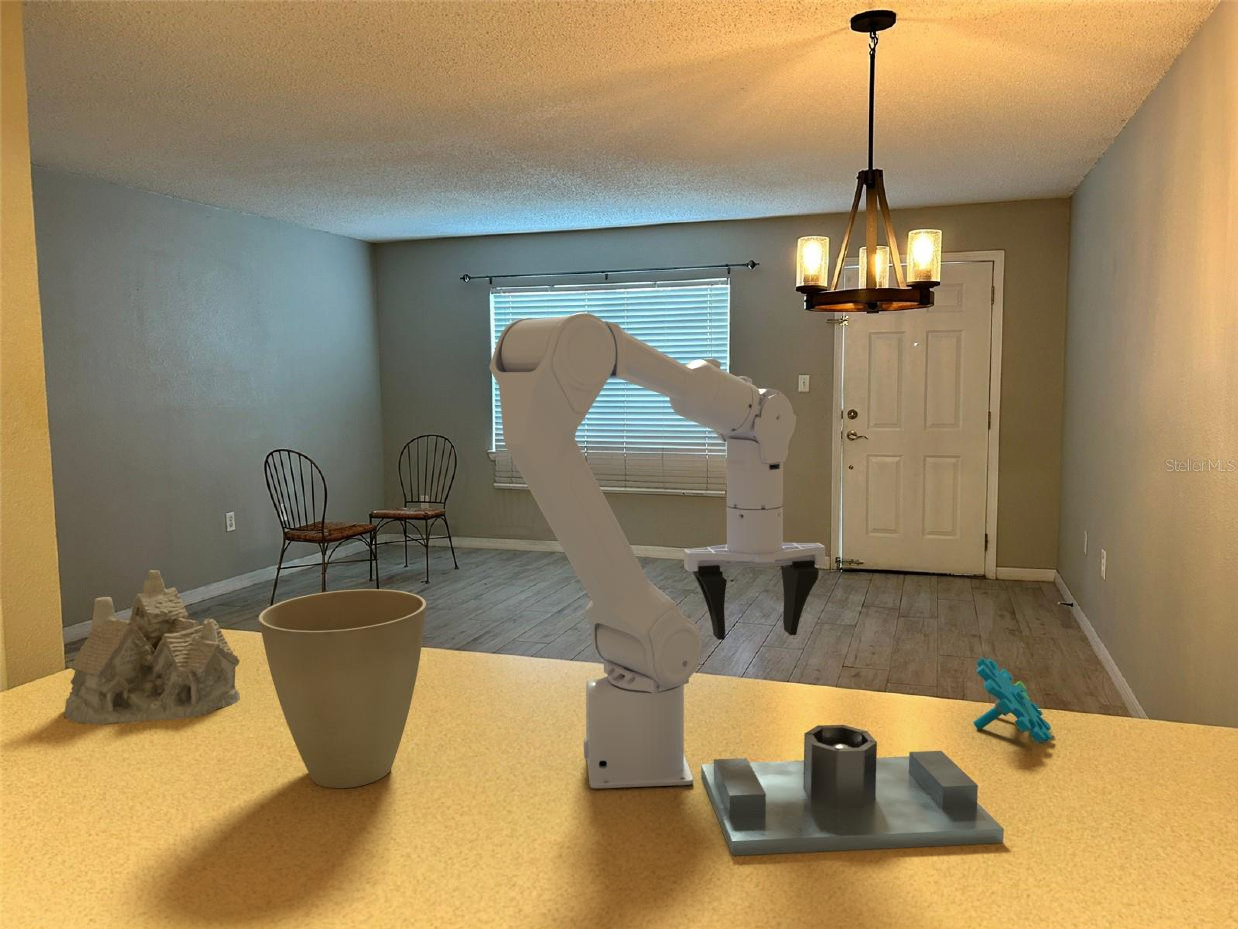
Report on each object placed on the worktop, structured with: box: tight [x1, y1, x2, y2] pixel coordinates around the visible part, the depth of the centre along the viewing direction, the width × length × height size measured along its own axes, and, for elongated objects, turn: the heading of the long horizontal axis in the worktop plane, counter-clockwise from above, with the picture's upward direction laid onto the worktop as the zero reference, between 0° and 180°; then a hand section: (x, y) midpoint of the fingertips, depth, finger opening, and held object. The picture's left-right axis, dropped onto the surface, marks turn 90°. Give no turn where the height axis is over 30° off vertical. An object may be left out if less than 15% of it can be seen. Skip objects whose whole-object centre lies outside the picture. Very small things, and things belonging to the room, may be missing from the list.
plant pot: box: [258, 588, 427, 789], centre depth 85 cm, size 15×15×16 cm
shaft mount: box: [700, 744, 1005, 856], centre depth 78 cm, size 22×14×6 cm, turn 95°
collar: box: [803, 724, 878, 809], centre depth 78 cm, size 6×6×5 cm
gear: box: [972, 657, 1053, 744], centre depth 95 cm, size 11×6×10 cm
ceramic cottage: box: [63, 569, 241, 726], centre depth 103 cm, size 16×16×15 cm
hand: (754, 634), depth 94 cm, fingers open, 7 cm apart
